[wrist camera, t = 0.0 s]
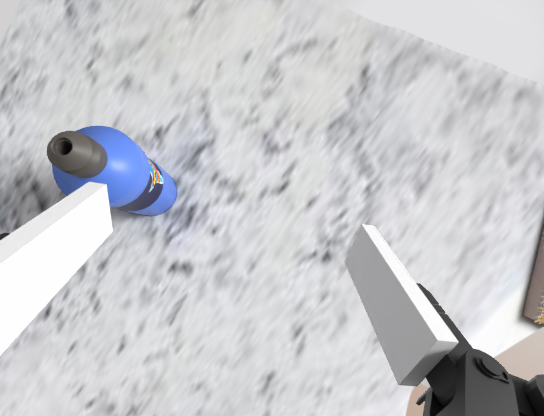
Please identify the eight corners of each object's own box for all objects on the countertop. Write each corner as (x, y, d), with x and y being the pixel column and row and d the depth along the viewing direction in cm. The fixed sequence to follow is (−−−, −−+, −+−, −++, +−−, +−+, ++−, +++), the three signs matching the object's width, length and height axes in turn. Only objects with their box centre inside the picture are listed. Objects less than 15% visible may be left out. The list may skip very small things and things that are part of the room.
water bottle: (136, 224, 46) (23, 213, 21) (118, 178, 46) (-15, 115, 21) (185, 205, 47) (132, 175, 23) (167, 161, 48) (96, 85, 23)
